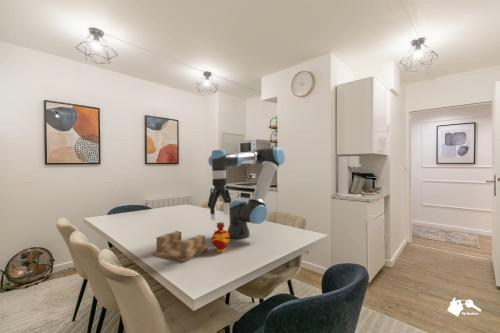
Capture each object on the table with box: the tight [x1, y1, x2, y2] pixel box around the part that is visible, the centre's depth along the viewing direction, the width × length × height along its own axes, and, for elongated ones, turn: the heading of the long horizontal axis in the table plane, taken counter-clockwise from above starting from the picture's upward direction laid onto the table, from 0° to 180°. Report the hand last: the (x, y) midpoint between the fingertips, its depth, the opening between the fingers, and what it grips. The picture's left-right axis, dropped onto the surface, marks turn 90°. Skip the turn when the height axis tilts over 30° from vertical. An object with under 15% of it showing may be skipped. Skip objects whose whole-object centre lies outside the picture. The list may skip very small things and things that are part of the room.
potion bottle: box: [211, 221, 231, 253], centre depth 131 cm, size 10×10×15 cm
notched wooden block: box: [152, 230, 209, 264], centre depth 128 cm, size 18×22×9 cm
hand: (220, 217), depth 129 cm, fingers open, 13 cm apart
